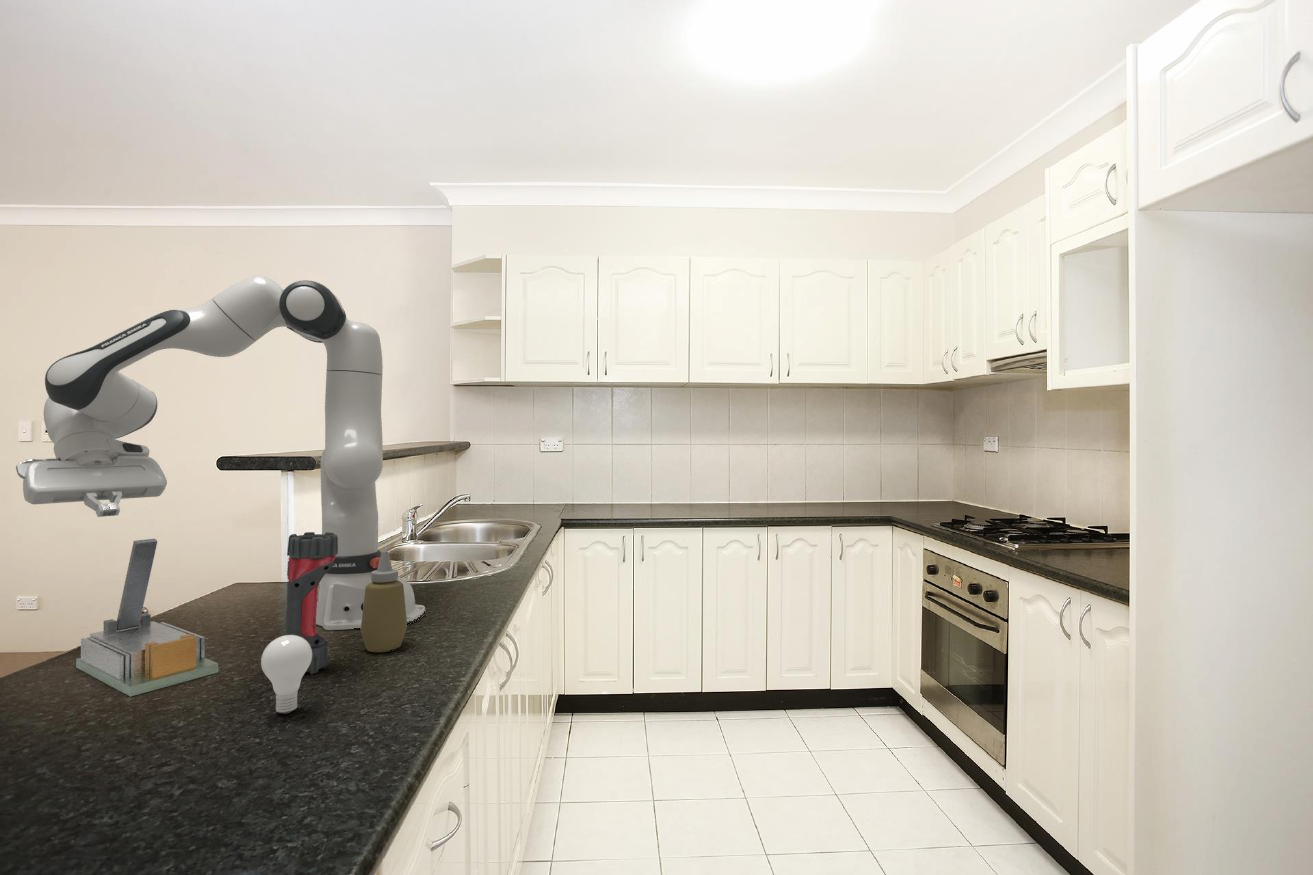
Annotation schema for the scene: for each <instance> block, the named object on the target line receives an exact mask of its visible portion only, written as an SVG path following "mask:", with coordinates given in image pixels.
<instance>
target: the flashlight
mask: <svg viewBox="0 0 1313 875" xmlns="http://www.w3.org/2000/svg"><path fill="white" fill-rule="evenodd" d="M337 554H338V536H337V535H336V534H334V533H330V532H326V533H325V534H322V533H321V534H320V533H319V534H316V533H315V531H307V532H304V533H303V534H299V535H297V533H292V534H290V535H289V536H288V542H287V552H286V556H288V561H287V570H286V572H287V573H286V575H287V586H286V587H287V588H286V614H285V615H286V616H285V634H284V635H283V636H285V635H297V636H300V637H302V638H304V639H305V640H306V641H307V642H308V643H309V644H310V646H311V649H312V660H311V663H310V666H309V667H308V669H307V671H306V672H305V673H309V674H310V675H314V674H317V673H318V672H319V670H320V669H326V668H327V666H328V647H329V641H327V640H326V638H324V637H323V636H321V635H320V634H318V632H317V629H316V626H317V624H316V615H317V612H316V611H317V602H318V596H319V591H318V590H319V587H320V581H321V579H322V578H323V576H324V575H325V574H326V573H327V572H328V571H329V570H330V569H331V568H332V566H333V565H334V562H335V560H334V559H335V556H336V555H337Z"/></svg>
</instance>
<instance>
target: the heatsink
mask: <svg viewBox="0 0 1313 875" xmlns="http://www.w3.org/2000/svg"><path fill="white" fill-rule="evenodd" d="M151 617H152V615H151V614H149V613H147V612H145V613H143V612H142V614H141V618H140V623H139V626H138V627H133V628H128V629H123V630H118V631H117V619H116V620H115V619H113V618H111V619H105V620H103V630H102V631H98V632H92V633H90V634H89V636H88V637H86V638H85V637H82V638H80V657H78V658H76V659H75V662H76V663H75V664H76V666H75V668H76V669H78V670H80V671H82V672H84V673H86V674H87V675H89V676H90V677H92V678H95V679H97V680H99V681H100V682H102V683H104V684H106V685H108V686H110V687H111V688H113V689H116V690H117V691H119V692H121V693H123V694H125V695H127V696H129V697H133V696H138V695H142V694H145V693H149V692H152V691H156V690H160V689H163V688H166V687H170V686H174V685H178V684H181V683H182V684H183V683H186V682H189V681H192V680H196V679H199V678H203V677H206V676H209V675H215V674H218V673H219V663H218V662H217V661H213V660H212V659H208V658H206V657H205V655H206V653H205V650H206V649H205V648H206V647H205V646H206V644H205V642H206V640H205V639H206V637H205V636H202V635H200V634H196V633H194V632H191V631H189V630H185V629H183V628H180V627H179V626H175V625H172V624H170V623H166V622H164V621H162V622H156V621H154V620H153V621H151V619H152V618H151ZM83 646H84V647H83Z"/></svg>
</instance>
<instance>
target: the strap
mask: <svg viewBox="0 0 1313 875" xmlns="http://www.w3.org/2000/svg"><path fill="white" fill-rule="evenodd" d="M157 545H158V541H157V539H156V538H147V539H138V540H137V539H136V540H133V542H132V548H131V552H130V558H129V562H128V565H127V566H128V567H127V572H126V575H125V579H124V580H125V581H124V585H123V590H122V596H121V600H120V605H119V609H118V612H117V613H118V614H117V618H116V621H117V631H118V630H123V629H128V628H133V627H138V626H139V623H140V618H141V614H143V609H144V608H143V607H144V604H145V601H146V595H147V591H148V586H149V583H150V582H149V581H150V577H151V571H152V568H153V564H154V559H155V555H156V549H157Z"/></svg>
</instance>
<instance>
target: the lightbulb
mask: <svg viewBox="0 0 1313 875" xmlns="http://www.w3.org/2000/svg"><path fill="white" fill-rule="evenodd" d="M284 635H285V634H284ZM284 635H281V636H278V637H276V638H275V639H274V640H272V641H271V642H269V643H268V644H267V645H266V647H265V648H264V650H263V652H262V655H261V658H260V666H261V670H262V671H263V673H264V675H265V676H266V677H267V679H268V680H269V681H270V682H271V685H272V689H273V692H274V694H275V700H276V701H275V703H276V704H275V711H276V712H277V713H280V714H284V715H287V714H290V713H291V712H294V711H295V710H296V709H297V708H298V690H299V689H300V686H301V681H302V678H303V676H304V675H305V673H307V672H306V671H307V669H308V667H309V666H310V663H311V660H312V649H311V646H310V644H309V643H308V642H307V641H306V640H305V639H304V638H302V637H300V636H297V635H285V636H284Z"/></svg>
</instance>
